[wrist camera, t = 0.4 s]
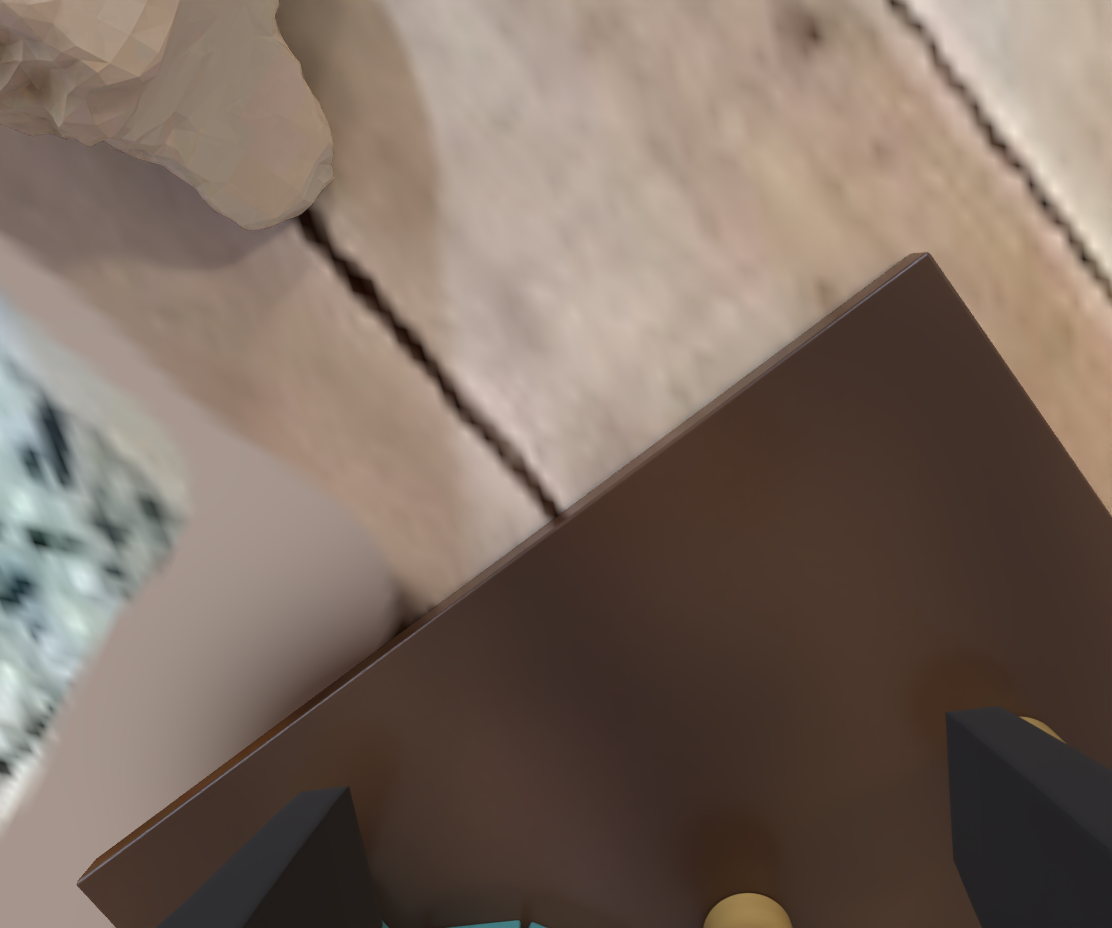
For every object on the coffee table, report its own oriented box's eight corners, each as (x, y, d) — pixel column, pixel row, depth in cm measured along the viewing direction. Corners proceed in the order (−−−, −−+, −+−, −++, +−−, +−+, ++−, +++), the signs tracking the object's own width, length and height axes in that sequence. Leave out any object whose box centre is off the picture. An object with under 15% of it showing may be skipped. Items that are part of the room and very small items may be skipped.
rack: (487, 1284, 25) (469, 1484, 21) (95, 859, 23) (-12, 986, 19) (1286, 790, 22) (1450, 909, 18) (912, 251, 20) (999, 244, 16)
